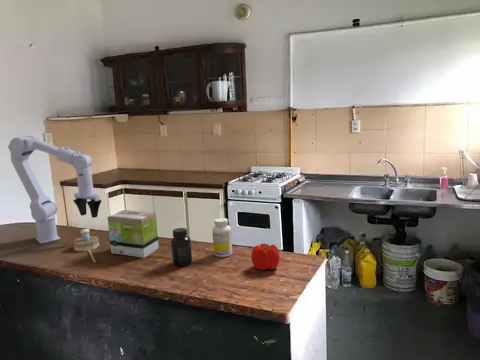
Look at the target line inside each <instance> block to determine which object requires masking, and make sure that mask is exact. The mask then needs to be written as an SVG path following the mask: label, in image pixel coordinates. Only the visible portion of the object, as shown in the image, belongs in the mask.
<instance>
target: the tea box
mask: <svg viewBox="0 0 480 360" xmlns="http://www.w3.org/2000/svg"><path fill="white" fill-rule="evenodd" d="M107 224H108V225H107V227H108V235H109V243H110V251H111V254H112V255H113V254H116V255H123V256H128V257H129V256H130V257H134V258H136V257H137V258H143V259H144V258H146V257H148V256H150V255H151V254H153V253H154V252H156V251H157V250H159V247H160V246H159V236H158V222H157V212H152V211H141V210H140V211H139V210H130V209H129V210H127V209H123V210H121V211H118V212H117V213H114V214H111V215H109V216H107Z"/></svg>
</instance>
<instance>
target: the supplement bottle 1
mask: <svg viewBox="0 0 480 360" xmlns="http://www.w3.org/2000/svg"><path fill="white" fill-rule="evenodd" d="M170 249H171V260H172V265H173V266H174V267H176V268H177V267H178V268H182V267H188V266H190V265H192V263H193V250H192V240H191V237H190V236H188V229H187V228H186V227H179V228H174V229H173V230H172V238H171V239H170Z"/></svg>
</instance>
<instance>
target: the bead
mask: <svg viewBox="0 0 480 360" xmlns="http://www.w3.org/2000/svg"><path fill="white" fill-rule="evenodd" d="M72 243H73V250H74V251H76V252H88V250H90V251H93V250H95V249H97V248H98V247H99V246H100V240H99V237H98V236H95V235H90V241H86V242H82V237H78V238H76V239H74V240H73V241H72Z"/></svg>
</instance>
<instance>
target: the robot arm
mask: <svg viewBox="0 0 480 360" xmlns="http://www.w3.org/2000/svg"><path fill="white" fill-rule="evenodd" d="M7 149H8V150H9V152H10V162H11V163H12V165H13V168H14V169H15V172H16V173H17V175H18V178H19V180H20V182H21V184H22V185H23V187H24V189H25V191H26V193H27V195H28V197H29V199H30V203H29V208H30V211H31V212H30V213H31V214H30V215H31V217H32V219H34V220H35V226H36V234H37V237H35V240H36V241H37V242H38V244H42V245H43V244H47V243H49V242H50V243H51V242H54V241H59V240H62V239H61V237H60V236H59V235H58V229H57V222H56V213H57V212H58V207H57V206H58V205H56V203H54V201H53V200H52V199H51V197H50V196H47V195H45V193H44V191H43V189H42V187H41V185H40V183H39V181H38V179H37V176H36V174H35V173H34V170H33V169H32V167H31V165H30V163H29V161H28V160H29V158H30V156H31V155H32V154H33V152H34V151H37V150H38V151H41V152H44V153H46V154H50V155H52V156H55V157H56V159H57V160H58V161H59V162H61V163H62V162H63V163H65V164H68V165H70V166H72V167H73V168H74V169H75V173H76V174H75V175H76V180H77V188H78V192H74V193H73V196H74V198H75V199H73V203H74V204H75V205H76V207H77V209H78V212H79V214H80V216H86V215H87V206H88V208H89V210H90V216H91V218H92V219H94V218H97V217H98V215H99V209H100V206H101V204H102V199H101V198H100V197H101V196H100V195H98V194H97V193H95V192H94V191H95V190H94V183H93V174H92V173H93V172H92V165H93V161H94V160H93V157H92V156H91V155H89V154H88V153H81V151H76V150H72V149H71V147H69V146H63V147H57V146H56V145H53V144H51V143H49V142H47V141H44V140H43V139H40V138H39V137H34V136H33V135H26V136H20V137H14V138H12V139H11V140H10V142H9V144H8V147H7Z"/></svg>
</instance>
